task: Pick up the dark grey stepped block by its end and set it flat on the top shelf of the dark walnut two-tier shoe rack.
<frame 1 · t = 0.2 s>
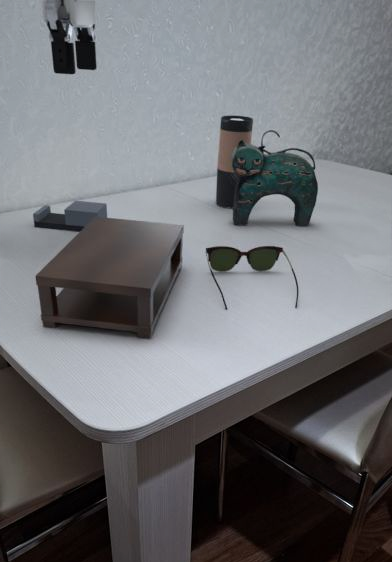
hand: (76, 71, 79), 31 cm above the table, tool pointing down, fingers open, 9 cm apart
travel mug: (229, 204, 127), on the table
ceramic cat: (268, 223, 116), on the table
sunglasses: (250, 289, 86), on the table
rack: (120, 293, 82), on the table
dark grey stepped block: (71, 225, 108), on the table
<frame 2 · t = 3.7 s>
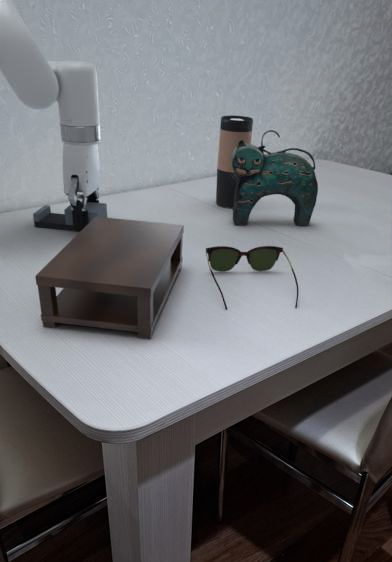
hand: (87, 222, 108), 1 cm above the table, tool pointing down, fingers closed on dark grey stepped block, 6 cm apart
dark grey stepped block: (71, 225, 108), on the table, touching gripper
everything else where it was.
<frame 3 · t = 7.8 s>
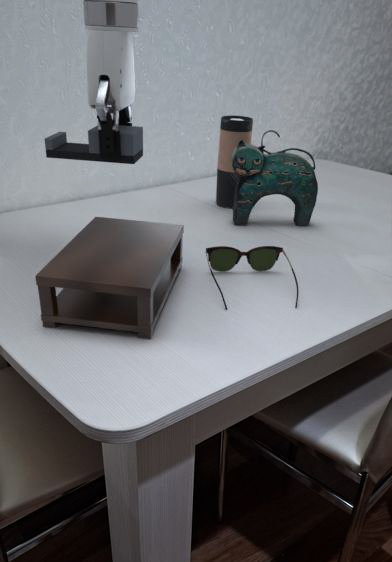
hand: (116, 152, 80), 20 cm above the table, tool pointing down, fingers closed on dark grey stepped block, 6 cm apart
dark grey stepped block: (96, 156, 81), point 19 cm above the table, touching gripper
everything else where it was.
when the fingers open (9 cm above the table, at t = 11.7 s): dark grey stepped block stays where it is, resting on rack.
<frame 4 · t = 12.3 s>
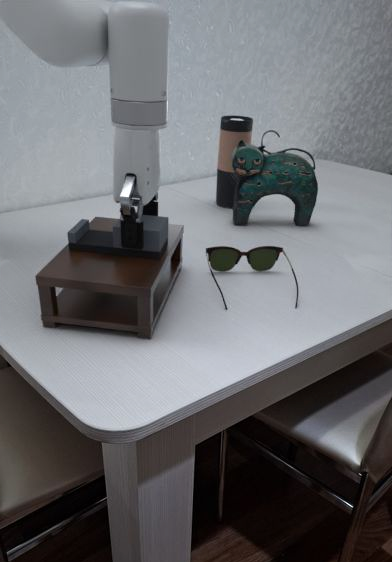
hand: (140, 236, 77), 10 cm above the table, tool pointing down, fingers open, 9 cm apart
dark grey stepped block: (119, 247, 78), point 8 cm above the table, touching rack
everything else where it was.
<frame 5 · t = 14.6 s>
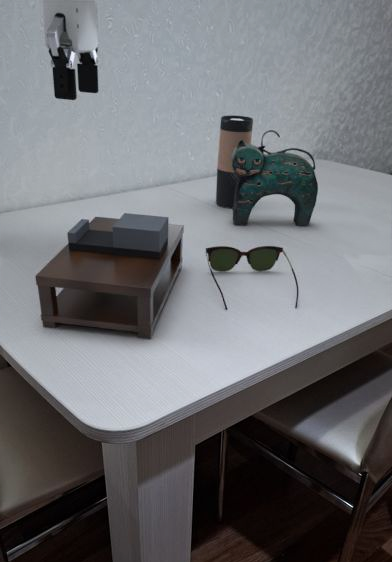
hand: (77, 95, 78), 27 cm above the table, tool pointing down, fingers open, 9 cm apart
nothing on the table moved.
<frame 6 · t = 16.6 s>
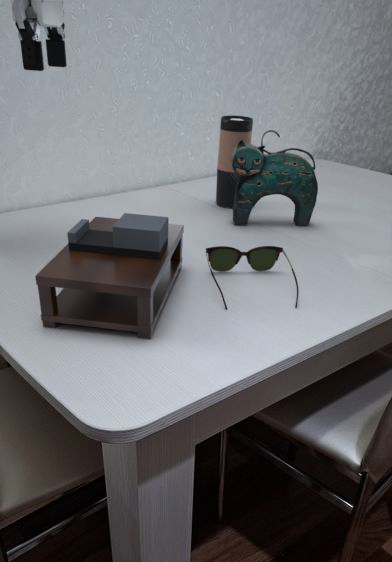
hand: (46, 68, 83), 30 cm above the table, tool pointing down, fingers open, 9 cm apart
nothing on the table moved.
at the end: dark grey stepped block inside the target area on the rack (0.1 cm from its centre), point 8.0 cm above the rack's base; dark grey stepped block tilted 0°; the gripper is holding nothing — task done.
